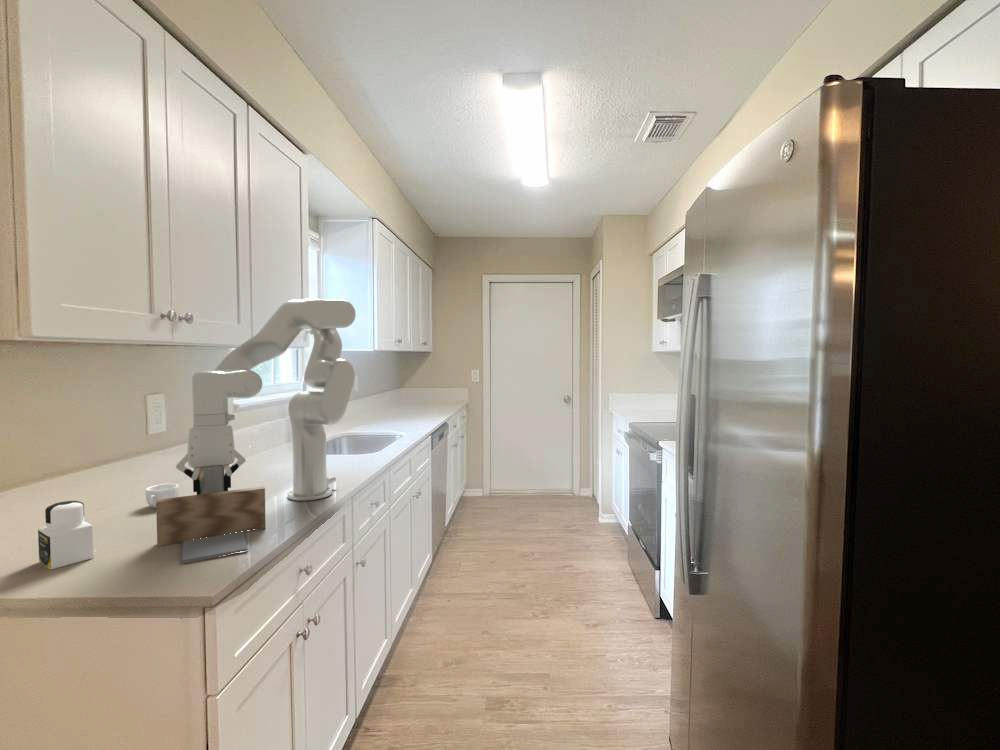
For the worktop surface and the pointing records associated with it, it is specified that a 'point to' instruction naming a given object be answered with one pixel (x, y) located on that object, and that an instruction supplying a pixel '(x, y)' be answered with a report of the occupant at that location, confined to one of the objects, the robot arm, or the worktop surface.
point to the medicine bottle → (65, 535)
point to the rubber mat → (213, 547)
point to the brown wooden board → (209, 515)
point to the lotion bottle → (211, 479)
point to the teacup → (161, 493)
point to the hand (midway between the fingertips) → (212, 492)
